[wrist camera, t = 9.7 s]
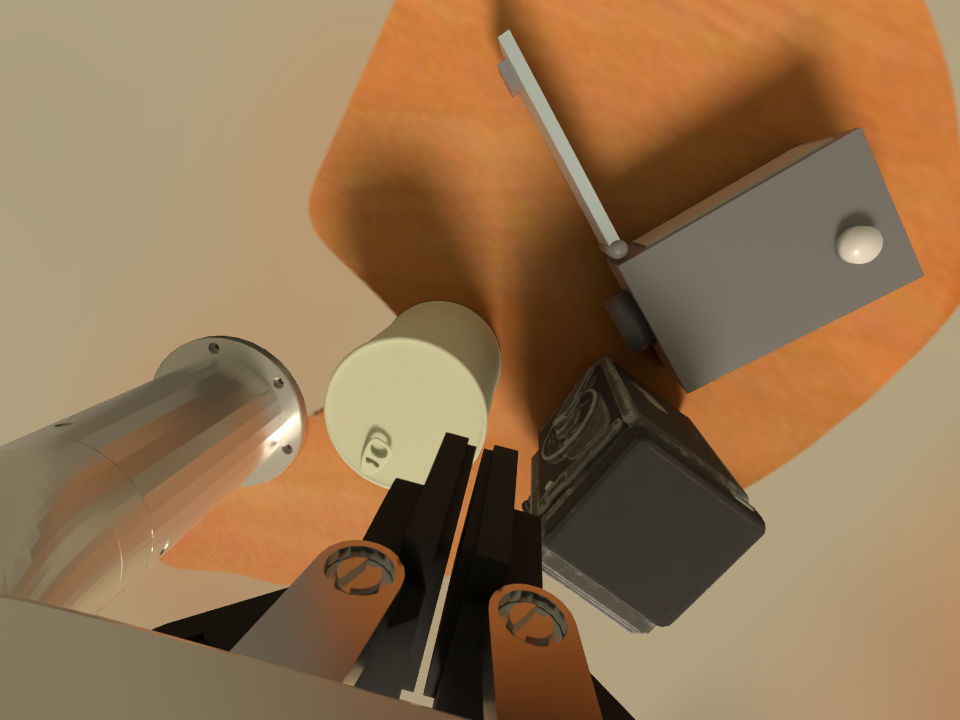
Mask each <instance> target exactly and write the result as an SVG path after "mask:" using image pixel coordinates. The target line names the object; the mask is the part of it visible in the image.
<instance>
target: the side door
mask: <svg viewBox="0 0 960 720" xmlns="http://www.w3.org/2000/svg"><path fill="white" fill-rule="evenodd" d="M498 40H499V45H500V50H501V54H502V59H503V61H502V62H500V63H499V64H498V65H497V66H498V70H499V73H500V75H501V77H502V79H503V81H504V83H505V85H506V86H507V88H508V90H509V92H510V94H511V96H512V97H513V96H515V95H516V94H518V93H519V94H520V96H521V98H522V100H523V101H524V103H525V105H526V107H527V109H528V111H529V113H530V114H531V116H532V118H533V120H534V122H535V124H536V126H537V128H538V129H539V131H540V133H541V135H542V137H543V139H544V141H545V142H546V144H547V146H548V148H549V150H550V152H551V154H552V156H553V157H554V159H555V161H556V163H557V165H558V167H559V169H560V170H561V172H562V174H563V176H564V178H565V180H566V182H567V183H568V185H569V187H570V189H571V191H572V193H573V195H574V197H575V198H576V200H577V202H578V204H579V206H580V208H581V210H582V211H583V213H584V215H585V217H586V219H587V221H588V223H589V225H590V226H591V228H592V230H593V232H594V234H595V236H596V238H597V239H598V241H599V243H598V247H599V249H600V251H602V252H603V253H605V254H607V255H609V256H610V257H612V258H614V259H621V258H623V257H624V256H625V255H626V254H627V251H628V247H627V244H626V243H625V242H624V241H622V240H620V239H619V237H618V235H617V233H616V231H615V229H614V227H613V225H612V223H611V222H610V220H609V218H608V216H607V214H606V212H605V210H604V208H603V206H602V204H601V203H600V201H599V199H598V197H597V195H596V193H595V191H594V189H593V187H592V186H591V184H590V182H589V180H588V178H587V176H586V174H585V172H584V170H583V168H582V167H581V165H580V163H579V161H578V159H577V157H576V155H575V153H574V151H573V150H572V148H571V146H570V144H569V142H568V140H567V138H566V136H565V134H564V132H563V131H562V129H561V127H560V125H559V123H558V121H557V119H556V117H555V115H554V113H553V112H552V110H551V108H550V106H549V104H548V102H547V100H546V98H545V96H544V95H543V93H542V91H541V89H540V87H539V85H538V83H537V81H536V79H535V77H534V76H533V74H532V72H531V70H530V68H529V66H528V64H527V62H526V60H525V59H524V57H523V55H522V53H521V51H520V49H519V47H518V45H517V43H516V41H515V40H514V38H513V36H512V34H511V32H510V30H507V31H506V32H505V33H503V34H502V35H500V36H499V37H498Z"/></svg>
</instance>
